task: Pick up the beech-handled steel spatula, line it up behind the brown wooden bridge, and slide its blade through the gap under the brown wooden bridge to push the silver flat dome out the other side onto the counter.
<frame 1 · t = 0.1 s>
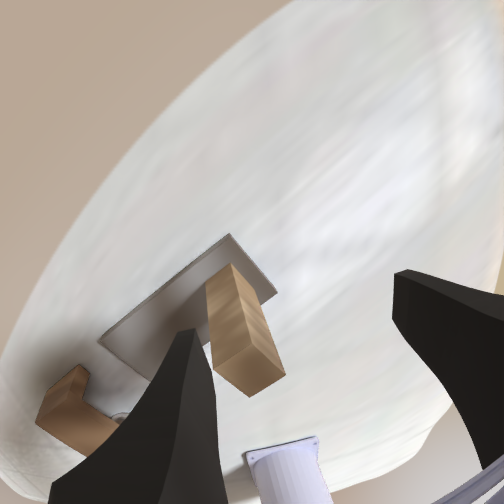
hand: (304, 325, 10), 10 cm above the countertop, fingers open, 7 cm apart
silver flat dome: (130, 424, 25), on the countertop
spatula: (228, 279, 21), on the countertop
brown wooden bridge: (130, 427, 24), on the countertop
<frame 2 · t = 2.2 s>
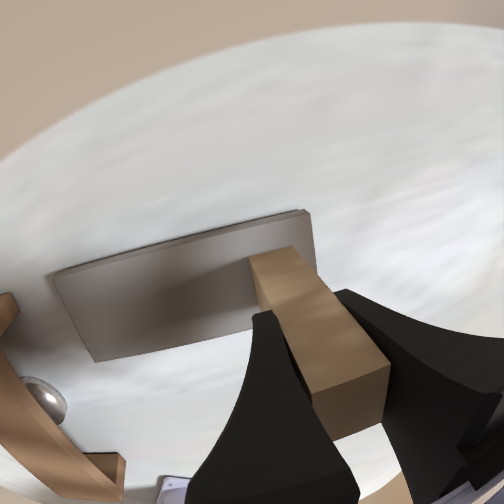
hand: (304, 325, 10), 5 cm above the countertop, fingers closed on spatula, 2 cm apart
silver flat dome: (42, 396, 16), on the countertop
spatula: (270, 268, 15), on the countertop, touching gripper
brown wooden bridge: (40, 400, 16), on the countertop
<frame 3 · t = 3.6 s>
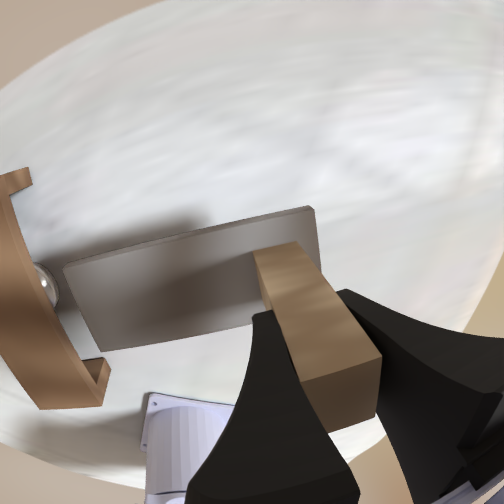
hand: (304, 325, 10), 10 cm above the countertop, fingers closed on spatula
silver flat dome: (36, 287, 18), on the countertop
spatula: (275, 264, 15), point 5 cm above the countertop, touching gripper
brown wooden bridge: (34, 289, 18), on the countertop
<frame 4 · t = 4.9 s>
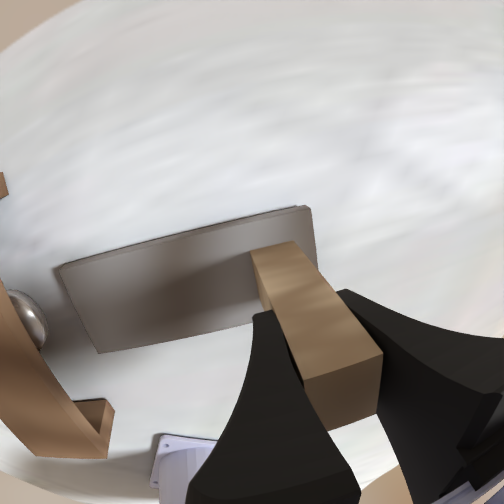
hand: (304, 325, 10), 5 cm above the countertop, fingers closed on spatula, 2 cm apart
silver flat dome: (20, 318, 14), on the countertop
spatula: (272, 263, 15), on the countertop, touching gripper
brown wooden bridge: (18, 321, 14), on the countertop
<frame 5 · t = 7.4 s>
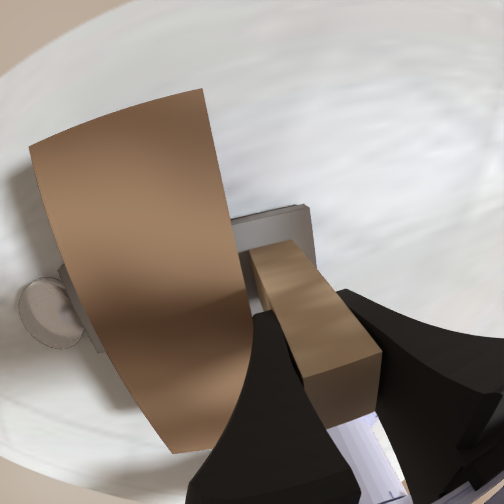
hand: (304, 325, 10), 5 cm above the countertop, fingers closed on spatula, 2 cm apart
silver flat dome: (55, 309, 15), on the countertop, touching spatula
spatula: (271, 262, 15), on the countertop, touching gripper, silver flat dome
brown wooden bridge: (178, 285, 15), on the countertop
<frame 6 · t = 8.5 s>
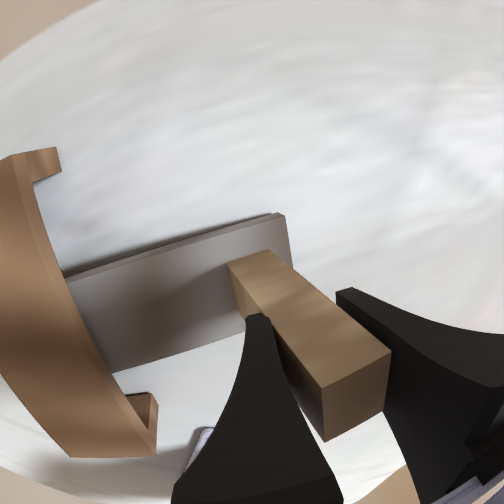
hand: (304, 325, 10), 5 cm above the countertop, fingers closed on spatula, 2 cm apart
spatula: (247, 273, 15), on the countertop, tilted 10°, touching gripper
brown wooden bridge: (59, 311, 14), on the countertop
when the fingers open (5 cm above the countertop, at t = 9.3 s): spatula stays where it is, on the countertop.
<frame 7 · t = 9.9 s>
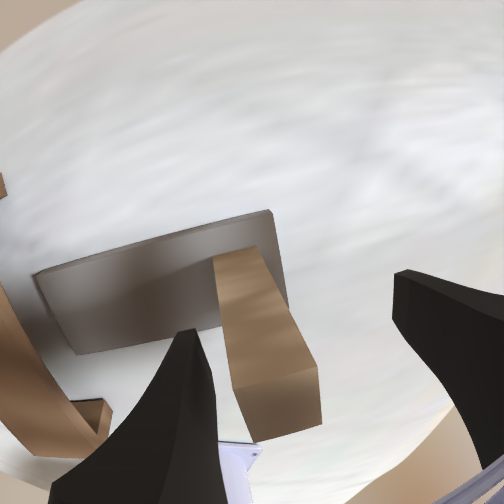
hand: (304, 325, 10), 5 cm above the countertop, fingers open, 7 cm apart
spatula: (237, 268, 15), on the countertop
brown wooden bridge: (17, 321, 14), on the countertop
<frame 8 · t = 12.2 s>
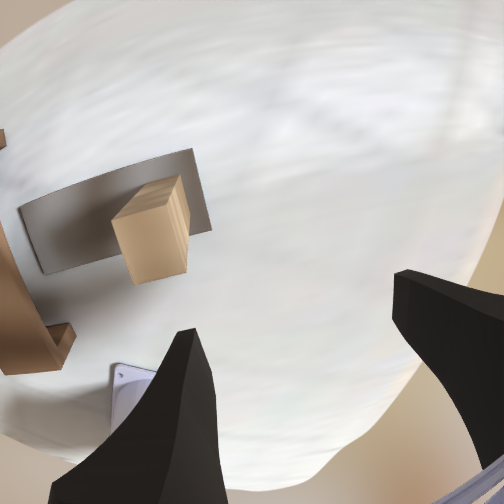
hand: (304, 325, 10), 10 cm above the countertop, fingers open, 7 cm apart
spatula: (169, 196, 18), on the countertop
brown wooden bridge: (4, 250, 17), on the countertop
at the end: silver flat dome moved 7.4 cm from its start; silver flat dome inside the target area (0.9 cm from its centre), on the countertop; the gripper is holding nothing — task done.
